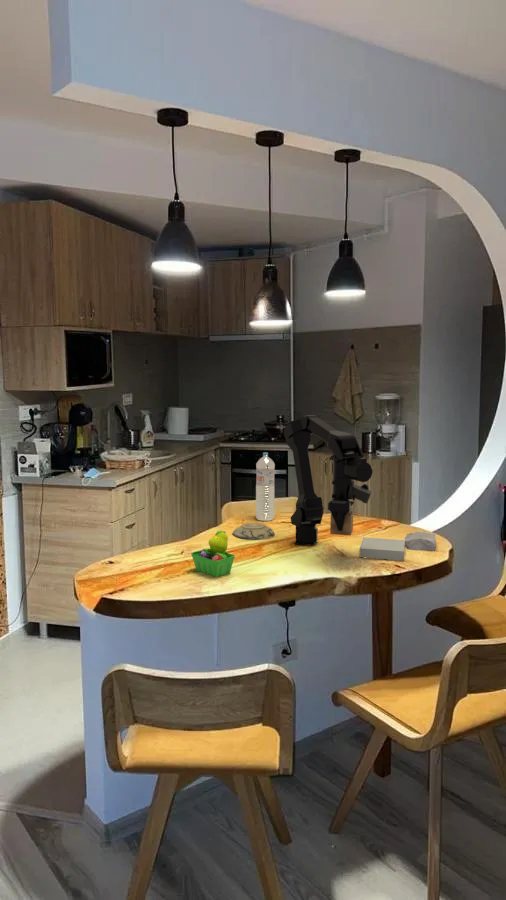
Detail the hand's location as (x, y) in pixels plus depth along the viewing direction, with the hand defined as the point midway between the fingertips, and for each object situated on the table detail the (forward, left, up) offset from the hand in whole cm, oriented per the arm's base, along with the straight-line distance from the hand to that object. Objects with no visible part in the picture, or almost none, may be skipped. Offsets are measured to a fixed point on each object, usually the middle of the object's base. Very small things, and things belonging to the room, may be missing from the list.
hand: (341, 528), depth 207 cm
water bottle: (-33, +42, -10) cm, 54 cm away
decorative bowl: (-32, +20, -10) cm, 39 cm away
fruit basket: (-33, -22, -10) cm, 41 cm away
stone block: (+23, +21, -10) cm, 32 cm away
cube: (0, 0, -1) cm, 1 cm away
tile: (+12, +8, -9) cm, 17 cm away
